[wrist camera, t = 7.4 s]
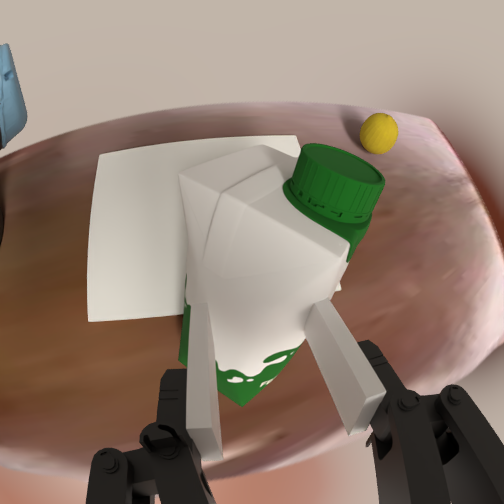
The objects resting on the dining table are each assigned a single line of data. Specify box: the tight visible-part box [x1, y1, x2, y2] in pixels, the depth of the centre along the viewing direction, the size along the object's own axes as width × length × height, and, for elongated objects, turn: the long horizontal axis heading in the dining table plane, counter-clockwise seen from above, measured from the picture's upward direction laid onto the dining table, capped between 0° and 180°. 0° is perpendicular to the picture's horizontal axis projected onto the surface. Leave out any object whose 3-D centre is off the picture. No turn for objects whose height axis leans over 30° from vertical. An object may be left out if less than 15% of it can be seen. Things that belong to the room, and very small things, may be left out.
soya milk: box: [178, 143, 385, 407], centre depth 18 cm, size 9×9×20 cm
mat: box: [87, 136, 341, 322], centre depth 32 cm, size 22×28×1 cm
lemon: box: [360, 113, 398, 154], centre depth 35 cm, size 6×6×8 cm
